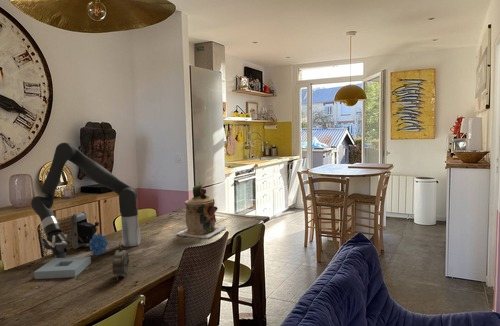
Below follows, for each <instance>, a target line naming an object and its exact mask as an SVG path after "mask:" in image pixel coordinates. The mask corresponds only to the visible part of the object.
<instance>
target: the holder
mask: <svg viewBox="0 0 500 326" xmlns="http://www.w3.org/2000/svg"><path fill="white" fill-rule="evenodd" d="M91 263H92V259H91V256H73V257H72V256H71V257H66V258H56V257H54V258H52V259H50V260H49V261H48V262H46V263H45V264H44V265H42V266H40V267H39V268H38V269H36V270H35V271H34V272H33V274H34V279H35V280H42V279H63V278H64V279H65V278H76V277H77V276H78V275H79V274H80V273H81V272H83V271H84V270H85V269H86V268H87V267H89V266H90V265H91Z"/></svg>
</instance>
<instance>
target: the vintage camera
mask: <svg viewBox="0 0 500 326" xmlns="http://www.w3.org/2000/svg"><path fill="white" fill-rule="evenodd" d="M87 219H88V217H87V213H86V212H85V211H82V212H80V213H76V214H72V215H71V216H70V226H71V230H70V231H71V246H72V248H73V249H74V250H77V249H79V248H80V247H84V246H85V245H87V244H88V245H91V244H90V243H89V242H90V240H91V239H92V237H93V235H96V233H97V231H98V228H97V227H99V224H100V222H98V221H95V222H94V224H93V223H91V222H88V220H87Z"/></svg>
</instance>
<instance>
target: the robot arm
mask: <svg viewBox="0 0 500 326" xmlns="http://www.w3.org/2000/svg"><path fill="white" fill-rule="evenodd" d="M68 161H69V162H71V163H72V164H74V165H76V166H77V167H78V168H79V169H80V170H81V171H82V172H83V173H84V174H85V176H87V177H88V178H89V179H91V180H92V181H93V182H95V183H96V184H98V185H100V186H102V187H105V188H107V189H110V190H111V191H113V192H114V193H116V194H117V195H118V204H119V205H118V206H119V212H120V216H121V217H120V220H121V235H122V246H123V247H127V248H128V247H136V246H139V245H140V244H141V243H142V242H141V241H142V240H141V227H140V226H139V213H138V212H139V211H138V209H137V198H138V195H139V194H138V191H137V190H136V189H135V188H134V187H133V186H131V185H129V184H127V183H126V182H124V181H122V180H121V179H119V178H118V177H117V176H115V175H114V174H113V173H112V172H110V171H109V170H108V169H106V168H105V167H104V166H103V165H101V164H100V163H98V162H96V161H95V160H93V159H91V158H90V157H88V156H86V155H85V154H84V153H83V152H82V151H80V150H79V149H78V148H77V147H76V146H75V145H74V144H73V143H69V142H61V143H59V144H58V145H57V146H56V148H55V151H54V154H53V159H52V162H51V165H50V166H49V170H48V173H47V175H46V177H45V179H44V181H43V183H42V186H41V188H40V191H41V193H43V194H45V196H41V195H37V196H33V197H32V199H31V202H30V203H31V204H30V205H31V207H32V210H33V211H34V212H35V214H37V216H38V217H39V219H40V222H41V226H42V230H43V232H44V235H45V236H46V238H42V240H41V244H42V246H44V249H46V250H47V251H48V250H50V251H51V252H52V255H54V256H56V255H57V251H56V248H55V245H54V242H55V241H58V240H65V250H66V254H68V252H69V251H70V248H69V245H70V243H71V234H70V232H67V234H65V233H63V231H62V228H61V226H60V223H59V221H58V218H57V217H56V216H55V212H54V211H53V210H52V209H51V208H52V207H53V204H54V201H55V200H54V198H55V192H56V191H57V188H58V186H59V184H60V181H61V178H62V177H61V176H62V172H63V170H64V167H65V165H66V163H67V162H68ZM49 243H50V244H49Z"/></svg>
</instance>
